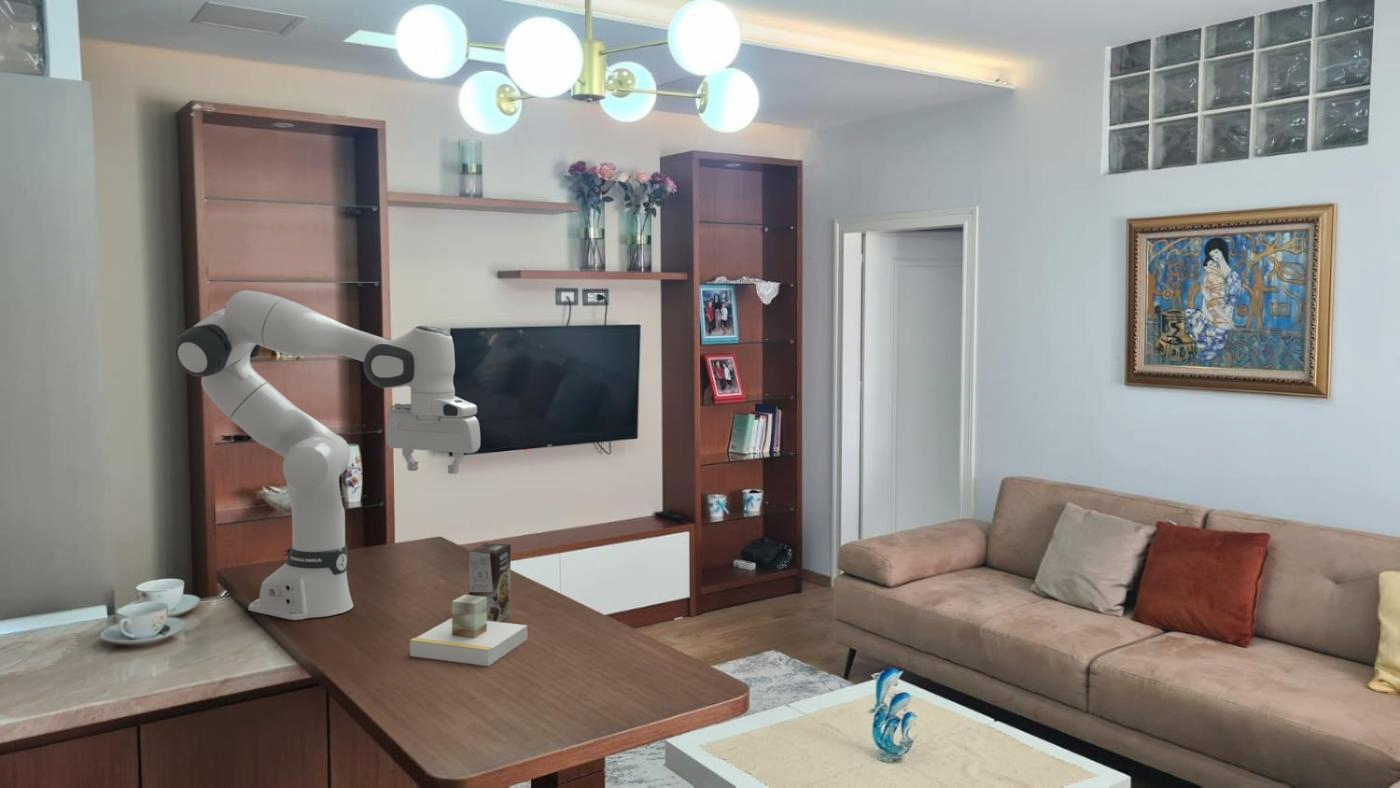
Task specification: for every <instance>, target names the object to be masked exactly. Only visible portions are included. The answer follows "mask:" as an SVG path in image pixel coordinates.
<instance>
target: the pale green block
mask: <svg viewBox="0 0 1400 788" xmlns="http://www.w3.org/2000/svg"><path fill="white" fill-rule="evenodd" d="M451 618H452V636H460V637H468V638H476V637H478V636H479V635H481V634H483V633H484V632H486V631H487V597H481V596H472V595H469V594H463V595H461V596H460V597H457V598H455V599H454V600H452V601H451Z"/></svg>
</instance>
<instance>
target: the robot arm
mask: <svg viewBox="0 0 1400 788" xmlns="http://www.w3.org/2000/svg"><path fill="white" fill-rule="evenodd" d="M261 347H263V348H265V349H268V350H270V351H274V352H276V353H277V352H278V353H281V354H285V355H291V356H297V357H307V356H309V357H310V356H327V355H329V356H341V357H347V358H351V359H354V360H356V361H359V362H363V370H364V374H365V376H366V378H367V380H369V382H371V384H372V385H374V386H376V387H379V388H383V389H386V390H387V389H397V388H402V387H410V403H395V404H393V405H392V406H390V407H389V409H388V411H387V420H388V422H387V428H386V438H385V439H386V441H385V443H386V445H387V446H388V447H389V448H390V449H399V450H400V449H401V454H402V456H403V459H404V460H405V461H406V464H407V466H406V468H407V471H409V472H410V471H411V472H415V471H418V469H419V467H418V466H419V461H416V460H415V459H414V457H413V455H412V454H414V451H415V450H416V451H417V450H418V451H428V452H429V451H430V452H431V451H432V452H442V453H445V452H446V453H452V458H454V459H453V461H452V463H451V464H449V465H447V473H448V474H450V475H456V474H459V465H460V464H461V462H462V460H463V458H464V456H465V455H464V454H473V453H476V452H478V450H479V449H480V447H481V429H480V422H479V420H478V418H477V417H476V416H475V415H477V414H478V413H477V412H478V406H477V405H476V404H474V403H473V402H469V401H467V400H465V399H462V398H460V397H458V396H456V389H455V385H454V374H455V372H456V371H455V370H456V361H455V360H456V357H455V346H454V341H453V337H452V335H451V334H450V333H449V331H447V330H445V329H444V328H439V327H435V326H428V325H418V326H415V327H413V328H412V330H410V331H409V332H407V333H405V334H403V335H401V336H399V337H396V338H394V339H389V338H387V337H382V336H380V335H376V334H374V333H371V332H367V331H364V330H360V329H358V328H355V327H352V326H349V325H346V324H344V323H341V322H339V321H337V320H335V319H332V318H330V317H328V316H327V315H324V314H322V313H320V312H318V311H316V310H313V309H312V308H309V307H307V306H305V305H304V304H301V303H298V302H296V301H293V300H290V299H287V298H285V297H282V296H279V295H275V294H271V293H267V292H262V291H256V290H250V289H249V290H246V289H245V290H240V291H238V292H235V293H234V294H233V295H232V296H231V297H230V298H229V300H228V301H227V303H226V305H225V306H224V307H223V308H221V309H219V310H217V311H214V312H212V313H211V314H208V315H206V316H204V318H202V320H200V321H199V322H198V323H196V324H195V325H194V326H192V327H190V328H187V329H186V330H185V331H183V332H182V334H181V335H180V336H179V337H178V338H177V340H176V341H175V343H174V355H175V357H176V358H175V359H176V360H177V363H178V364H179V366H180V367H181V368H182V369H183V370H184V371H185V372H186V373H188V374H190V375H192V376H194V377H195V376H196V377H199V378H200V377H201V381H200V382H201V387H202V389H203V391H204V392H205V393H206V395H207V396H208V397H209V398H210V400H211V401H212V402H213V403H214V404H215V406H217V408H219V410H221V412H222V413H223V414H224V415H225V416H227V417H228V418H229V420H231V421H232V422H233V423H234V424H235V425H237V426H238V427H239V428H240V429H241V430H243V431H244V432H245V433H246V434H247V435H248V436H249V437H251V438H252V440H254V441H255V442H256V443H258V444H259V445H261V446H263V447H265V448H267V449H270V450H272V451H273V452H274V453H277V454H278V455H279V456H280V457H281V456H282V457H283V458H284V460H283V462H282V473H283V476H284V478H285V480H286V481H285V482H286V487H287V492H288V493H287V495H288V499H289V503H290V508H291V509H290V510H291V521H292V522H291V527H292V529H291V531H292V533H291V534H292V546H290V547H289V548H288V549H285V550H283V551H281V553H283V554H282V555H281V557H285V556H287V557H286V560H285V563H284V564H282V565H281V566H280V567H279V568H277V569H276V570H275V571H274V572H272V573H271V574H270V575H269V576H267V577H266V578H265V579H264V580H263V581H262V583H261V586H260V592H259V598H257V599H255V600H253V601H252V602H250V603H249V605H248V611H251V612H253V613H259V614H263V615H267V616H272V617H276V618H277V617H278V618H280V619H281V618H282V619H286V620H290V621H298V620H305V619H310V618H311V619H312V618H313V619H314V618H323V617H330V616H335V615H338V614H343V613H346V612H348V611H350V610H351V609H353V607H354V603H353V600H352V596H351V593H350V588H349V583H348V582H349V580H348V575H347V574H348V573H347V567H348V545H347V544H346V514H345V513H346V512H345V511H346V510H345V508H344V505H343V500H342V495H341V488H340V476H341V475H343V473H344V472H345V471H346V469H347V468H348V466H349V464H350V460H351V450H350V449H351V448H350V445H349V444H348V442H347V441H346V440H345V438H343V437H342V436H341V435H338V434H336V433H335V432H333V431H332V430H331V429H329V428H328V427H327V426H325V425H324V424H322V423H321V422H319V421H318V420H317V419H316V418H314V417H312V416H311V415H309V414H308V413H306V412H305V411H303V410H301V409H300V408H299V407H298V406H296V405H295V404H294V403H293V402H291V401H290V400H289V399H288V398H287V397H285V396H284V395H283V394H282V393H281V392H280V391H279V390H277V388H275V387H274V386H273V385H271V383H269V382H268V381H267V380H266V379H265V378H264V377H262V376H261V375H260V374H259V373H258V371H256V370H255V369H254V368H253V367H252V364H251V358H254V357H257V356H258V355H259V353H260V349H261Z"/></svg>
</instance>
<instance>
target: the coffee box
mask: <svg viewBox="0 0 1400 788" xmlns="http://www.w3.org/2000/svg"><path fill="white" fill-rule="evenodd" d="M511 546H512V545H511V543H510V544H507V543H486V542H484V543H482V544H481V545H479V546H477V547H475V548H473V549H472V550H470V551H468V552H469V553H468V556H469V557H468V595H472V596H481V597H487V621H494V622H503V621H504V620H506V619H507V618H508V617H510V616H511V562H512V561H511V554H512V553H511Z"/></svg>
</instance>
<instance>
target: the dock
mask: <svg viewBox="0 0 1400 788" xmlns="http://www.w3.org/2000/svg"><path fill="white" fill-rule="evenodd" d="M527 640H528V625H527V624H518V623H510V622H503V621H501V622H494V621H487V631H486V632H484V633H483V634H481V635H479V636H478V637H476V638H468V637H460V636H452V617H451V618H449V619H447V620H446V621H444V622H442V623H440V624H438V625H436V626H434V627H433V628H430V629H429V630H427V631H426V632H424V633H422V634H420V635H418V636H416V637H412V638H411V639H409V656H410V657H416V658H422V659H432V660H439V661H445V662H453V663H461V664H468V665H475V666H476V665H477V666H483V667H486V666H487V667H489V666H491V665H492V664H494V663H495V662H496V661H498V660H500V659H501V658H502V657H504V656H505V655H507V654H509V653H511V651H513V650H514V649H516V648H517V647H519V646H520V645H522V644H523V643H524V642H526V641H527Z"/></svg>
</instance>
